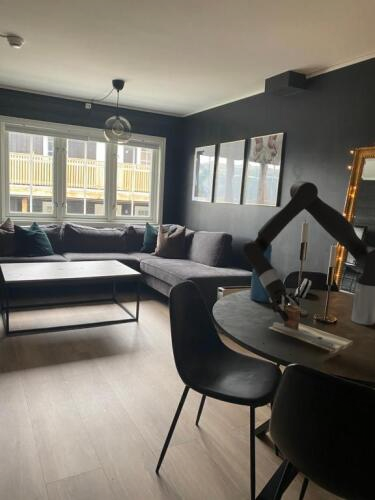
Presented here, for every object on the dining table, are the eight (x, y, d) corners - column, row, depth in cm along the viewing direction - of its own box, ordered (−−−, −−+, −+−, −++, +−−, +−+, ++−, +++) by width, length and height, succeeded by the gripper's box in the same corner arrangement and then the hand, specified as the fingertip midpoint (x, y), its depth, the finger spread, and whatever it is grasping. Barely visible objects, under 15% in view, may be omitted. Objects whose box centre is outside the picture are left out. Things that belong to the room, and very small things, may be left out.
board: (291, 324, 159) (292, 320, 159) (352, 345, 140) (353, 341, 139) (267, 331, 149) (268, 327, 148) (330, 354, 129) (330, 350, 129)
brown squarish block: (289, 326, 151) (291, 304, 150) (298, 330, 148) (300, 307, 146) (283, 328, 148) (285, 306, 147) (292, 332, 145) (294, 309, 144)
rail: (275, 326, 150) (275, 321, 150) (334, 347, 132) (335, 342, 132) (272, 327, 149) (273, 321, 149) (332, 348, 131) (333, 343, 130)
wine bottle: (281, 302, 193) (287, 243, 189) (261, 304, 186) (267, 243, 182) (262, 295, 204) (268, 239, 200) (243, 297, 197) (248, 239, 193)
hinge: (296, 290, 221) (304, 275, 219) (303, 294, 220) (311, 278, 218) (294, 296, 206) (302, 280, 203) (302, 300, 205) (311, 284, 202)
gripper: (267, 279, 147) (289, 317, 140) (289, 276, 156) (311, 311, 149) (255, 290, 151) (276, 326, 144) (277, 286, 161) (297, 320, 154)
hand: (293, 318), depth 147 cm, fingers open, 8 cm apart
